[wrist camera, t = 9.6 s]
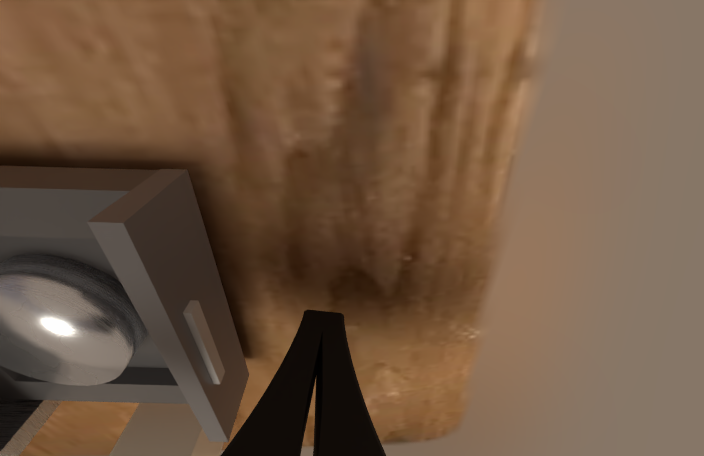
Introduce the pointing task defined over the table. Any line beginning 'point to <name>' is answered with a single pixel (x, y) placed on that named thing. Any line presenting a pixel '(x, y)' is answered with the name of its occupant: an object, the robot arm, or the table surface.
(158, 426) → the riser block
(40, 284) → the disc
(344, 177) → the table surface
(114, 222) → the tray
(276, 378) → the robot arm
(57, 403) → the box
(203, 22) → the table surface
